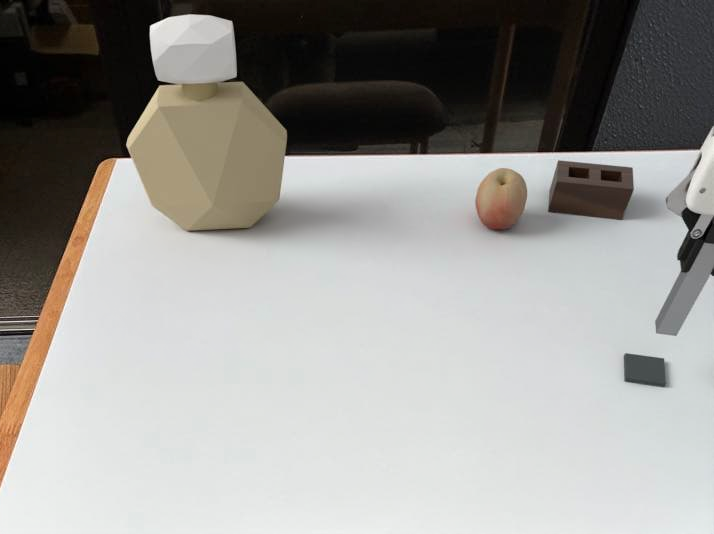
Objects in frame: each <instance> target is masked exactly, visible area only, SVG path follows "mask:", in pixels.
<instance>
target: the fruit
mask: <svg viewBox="0 0 714 534" xmlns="http://www.w3.org/2000/svg"><path fill="white" fill-rule="evenodd" d="M527 198H528V187H527V182H526V180H525V178H524V177H523V176H522V174H520V173H519V172H518V171H516V170H514V169H511V168H509V167H499V168H496V169H494V170H492V171H490V172H489V173H488V174H487V175H485V177H484V178H483V179H482V180H481V182H480V183H479V185H478V187H477V191H476V196H475V200H474V201H475V202H474V203H475V210H476V213H477V216H478V218H479V220H480V222H481V223H482V225H483V226H485V227H486V228H488V229H490V230H504V229H507V228H510V227H512V226H513V225H515V224H516V223H517V222H518V221H519V219H520V218H521V217H522V215H523V213H524V211H525V209H526V203H527Z"/></svg>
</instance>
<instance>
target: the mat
mask: <svg viewBox="0 0 714 534" xmlns="http://www.w3.org/2000/svg"><path fill="white" fill-rule="evenodd" d="M623 379H624V382H626V383H632V384H641V385H647V386H655V387H660V388H665V387H666V385H667V377H666V365H665V358H664V357H657V356H650V355H643V354H637V353H636V354H635V353H628V352H625V353H624V355H623Z"/></svg>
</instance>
